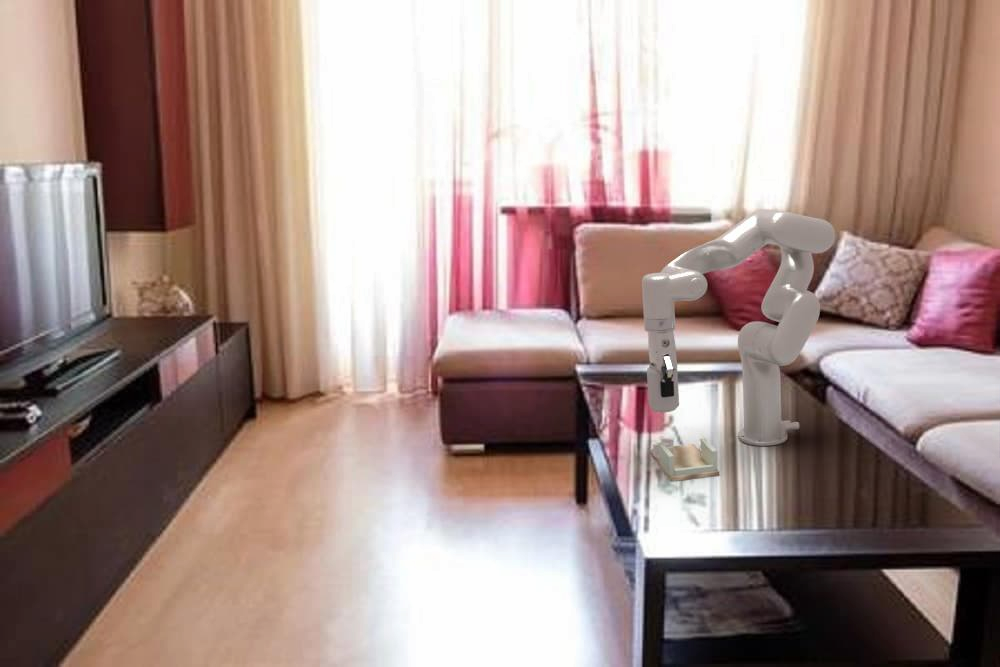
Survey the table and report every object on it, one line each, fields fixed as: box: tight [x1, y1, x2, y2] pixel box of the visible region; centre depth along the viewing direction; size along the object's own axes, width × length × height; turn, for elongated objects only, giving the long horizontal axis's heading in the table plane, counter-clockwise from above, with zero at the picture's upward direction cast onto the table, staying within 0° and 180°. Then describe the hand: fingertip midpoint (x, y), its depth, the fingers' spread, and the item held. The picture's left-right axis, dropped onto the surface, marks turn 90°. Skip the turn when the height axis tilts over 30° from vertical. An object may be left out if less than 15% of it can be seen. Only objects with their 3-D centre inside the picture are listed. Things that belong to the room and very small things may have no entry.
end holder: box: [659, 438, 719, 476], centre depth 218 cm, size 12×10×5 cm
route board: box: [649, 444, 720, 482], centre depth 224 cm, size 12×20×1 cm, turn 5°
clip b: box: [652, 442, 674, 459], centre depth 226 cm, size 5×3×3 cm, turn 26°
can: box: [646, 362, 680, 413], centre depth 222 cm, size 8×8×12 cm
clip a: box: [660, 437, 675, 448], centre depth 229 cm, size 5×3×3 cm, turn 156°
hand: (663, 391), depth 222 cm, fingers closed on can, 7 cm apart
